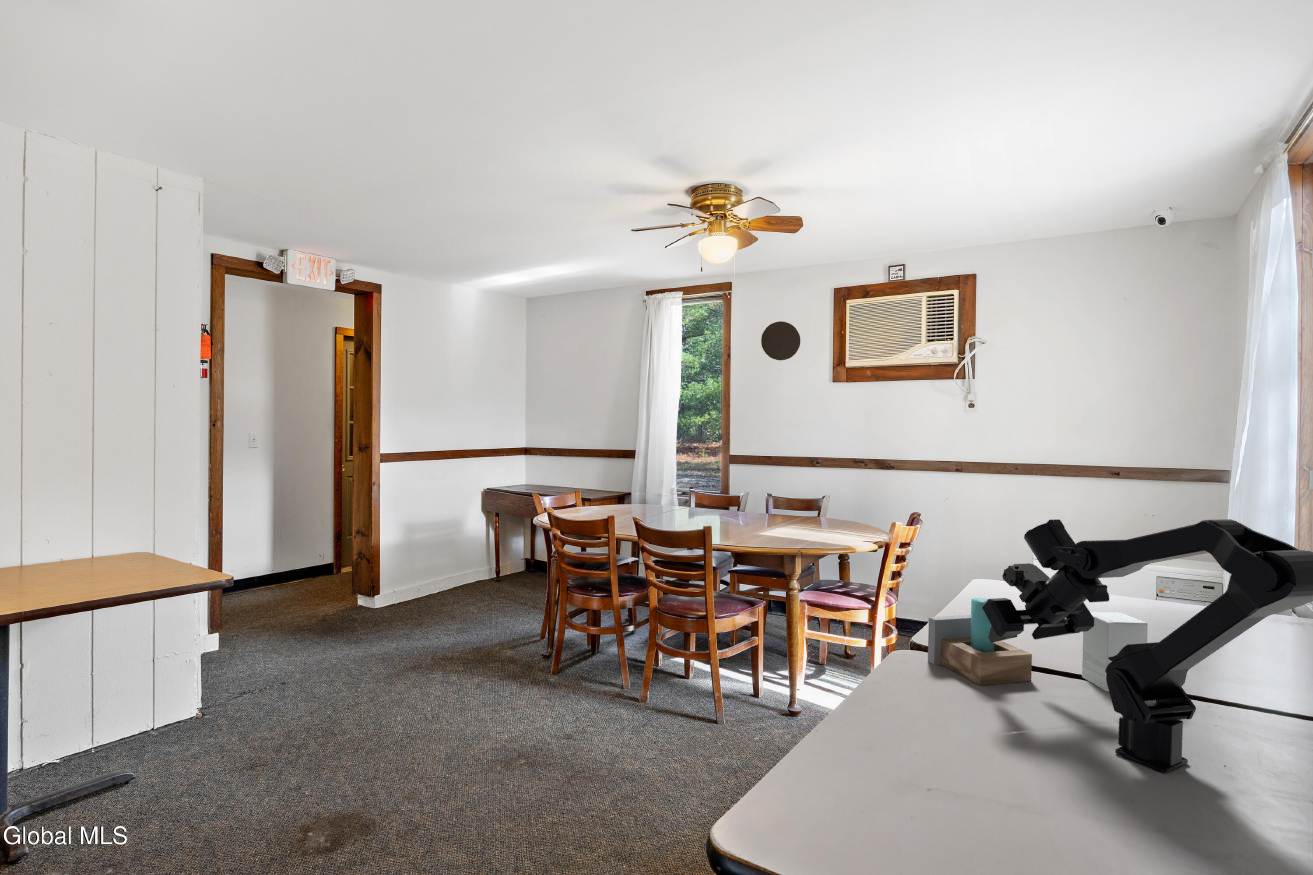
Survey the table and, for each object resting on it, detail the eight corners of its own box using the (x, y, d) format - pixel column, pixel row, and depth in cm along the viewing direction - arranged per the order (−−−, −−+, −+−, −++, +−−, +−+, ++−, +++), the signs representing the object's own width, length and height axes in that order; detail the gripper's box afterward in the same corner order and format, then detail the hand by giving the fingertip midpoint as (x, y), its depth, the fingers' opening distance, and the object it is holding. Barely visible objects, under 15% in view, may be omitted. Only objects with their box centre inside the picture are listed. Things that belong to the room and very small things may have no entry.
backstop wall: (995, 660, 136) (996, 616, 135) (934, 665, 132) (935, 619, 132) (988, 657, 138) (989, 613, 137) (927, 662, 134) (928, 617, 134)
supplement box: (1147, 693, 120) (1149, 623, 120) (1105, 692, 120) (1107, 622, 120) (1120, 678, 127) (1122, 611, 127) (1080, 677, 128) (1082, 610, 127)
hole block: (1031, 680, 125) (1031, 654, 124) (979, 685, 122) (980, 657, 122) (988, 660, 135) (989, 635, 135) (940, 664, 133) (941, 638, 133)
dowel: (996, 670, 127) (997, 603, 127) (973, 668, 128) (974, 602, 127) (990, 662, 131) (990, 598, 131) (968, 661, 132) (968, 597, 131)
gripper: (1082, 549, 119) (1031, 596, 130) (991, 552, 114) (947, 601, 125) (1121, 606, 111) (1064, 651, 122) (1025, 611, 107) (975, 657, 118)
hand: (1012, 638), depth 122 cm, fingers open, 9 cm apart
